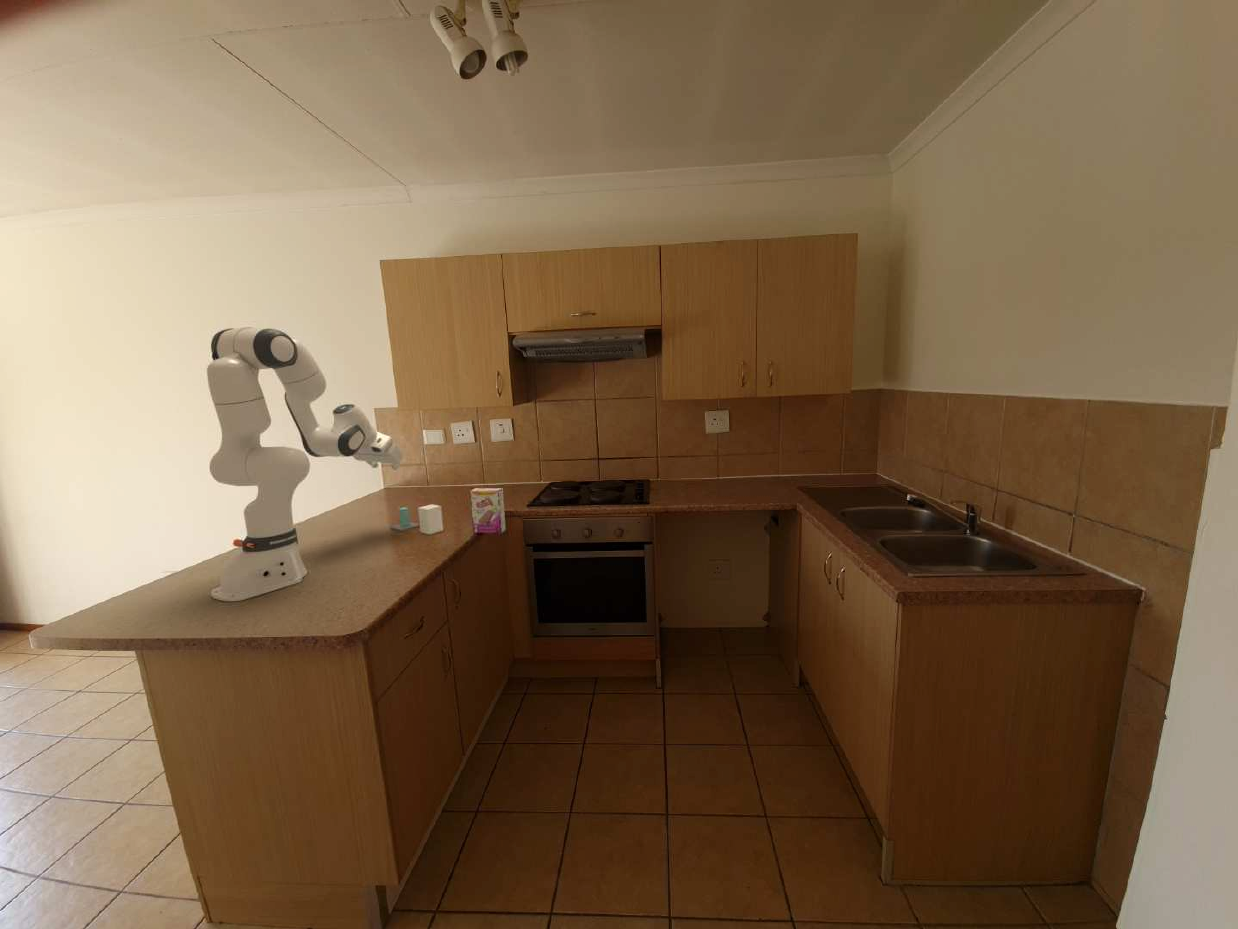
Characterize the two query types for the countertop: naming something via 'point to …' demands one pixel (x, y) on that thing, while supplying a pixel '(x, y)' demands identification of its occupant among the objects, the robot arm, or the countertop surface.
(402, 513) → the post
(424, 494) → the countertop surface
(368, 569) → the countertop surface
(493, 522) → the candy bar box
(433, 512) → the white tissue box
